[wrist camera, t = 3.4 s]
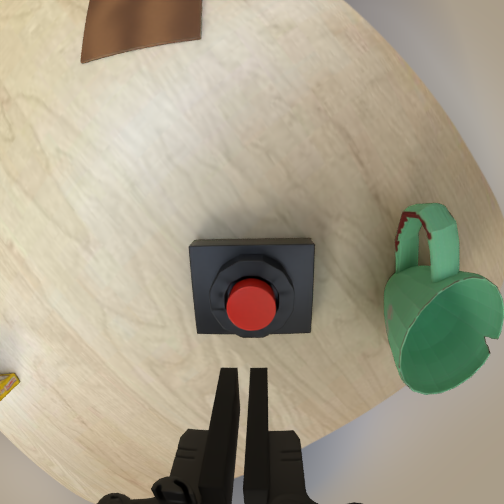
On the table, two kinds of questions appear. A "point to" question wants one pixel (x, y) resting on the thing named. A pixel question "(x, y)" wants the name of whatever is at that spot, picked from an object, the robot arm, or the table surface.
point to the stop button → (251, 304)
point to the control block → (259, 267)
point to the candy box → (7, 384)
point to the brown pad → (138, 25)
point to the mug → (437, 306)
